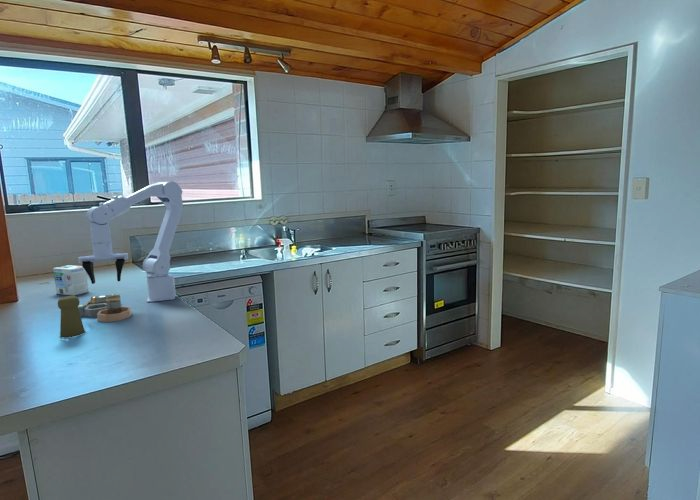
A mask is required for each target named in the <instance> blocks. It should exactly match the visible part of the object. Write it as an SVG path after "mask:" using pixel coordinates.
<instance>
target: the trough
mask: <svg viewBox="0 0 700 500" xmlns="http://www.w3.org/2000/svg"><path fill="white" fill-rule="evenodd" d="M100 304H102V303H100ZM106 304H107V303H106ZM83 305H84V306H85V307H87V306H90V305H94V304H90V300H88V301H87V302H86V303H85V304H83Z"/></svg>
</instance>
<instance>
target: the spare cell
mask: <svg viewBox="0 0 700 500" xmlns="http://www.w3.org/2000/svg"><path fill="white" fill-rule="evenodd" d="M110 295H111V294H106V295H105V294H104V295H94V296H91V297H90V300H89V301H90V304H100V303H106V297H107V296H110Z"/></svg>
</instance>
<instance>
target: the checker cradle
mask: <svg viewBox="0 0 700 500" xmlns="http://www.w3.org/2000/svg"><path fill="white" fill-rule="evenodd" d="M84 305H85V304H79V306H78V310H79V313H80V317H81V318H82V317H88V318H96V317H97V313H98V312H99V311H101V310H104V309H107V304H106V303H102V304H94V305H90V306H87V307H85V306H84ZM100 307H102V308H100ZM94 308H97V309H94Z"/></svg>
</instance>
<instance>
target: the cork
mask: <svg viewBox="0 0 700 500" xmlns="http://www.w3.org/2000/svg"><path fill="white" fill-rule="evenodd" d="M79 305H80V298H78V297H77V295H74V296H71V295H66V296H64V297H61V298H59V299H58V301H57V307H58V309H59V310H60V323H59V324H60V326H59V327H60V328H59V330H60V331H59V333H60V334H59V335H60V336H59V337H60V338H64V339H65V338H73V337H78V336H82V335H84V334H85V333H86V330H85V327H84V325H83V320H82V317H80V313H79V310H78V306H79Z"/></svg>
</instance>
